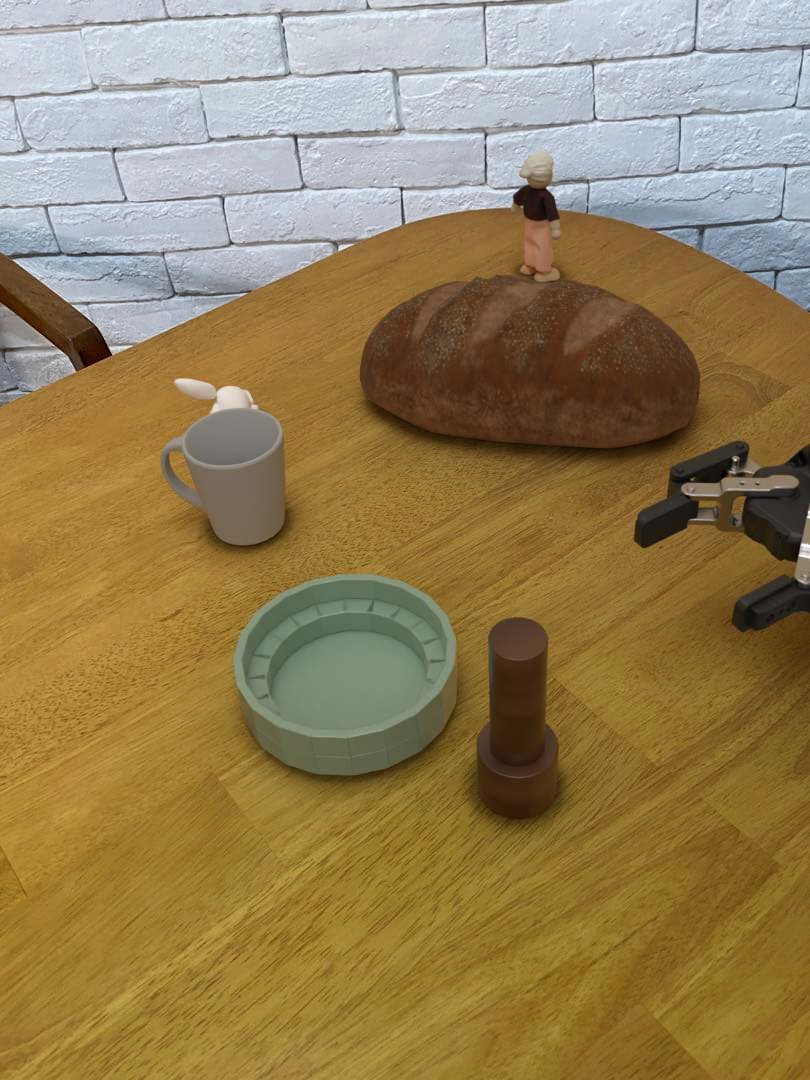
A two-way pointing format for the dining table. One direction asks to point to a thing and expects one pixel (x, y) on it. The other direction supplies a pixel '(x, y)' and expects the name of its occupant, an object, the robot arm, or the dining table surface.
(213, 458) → the cup
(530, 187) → the grandmother figurine
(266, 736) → the bowl
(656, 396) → the bread
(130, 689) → the dining table surface
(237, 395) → the rabbit figurine
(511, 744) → the pestle
